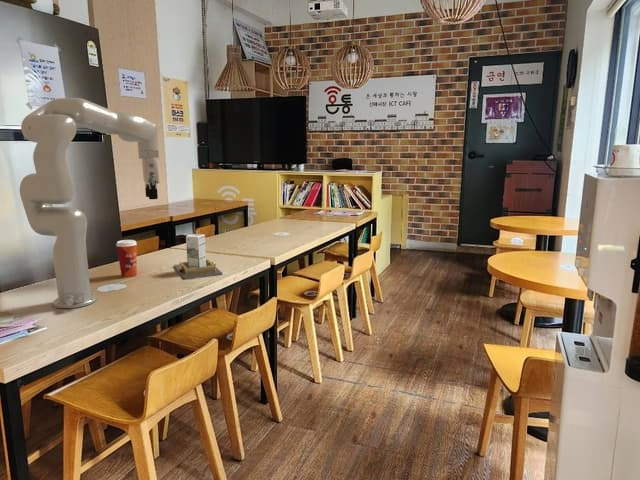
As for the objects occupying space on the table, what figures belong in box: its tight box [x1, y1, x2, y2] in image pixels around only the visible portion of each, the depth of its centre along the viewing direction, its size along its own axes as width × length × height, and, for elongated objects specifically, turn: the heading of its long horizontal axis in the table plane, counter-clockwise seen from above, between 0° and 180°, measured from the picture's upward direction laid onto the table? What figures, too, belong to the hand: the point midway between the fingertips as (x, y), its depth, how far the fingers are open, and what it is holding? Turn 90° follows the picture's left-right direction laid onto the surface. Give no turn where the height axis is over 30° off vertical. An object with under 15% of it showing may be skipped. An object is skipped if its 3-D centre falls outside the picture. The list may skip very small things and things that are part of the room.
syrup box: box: [185, 233, 207, 268], centre depth 188 cm, size 6×6×14 cm
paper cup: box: [115, 239, 138, 278], centre depth 181 cm, size 8×8×14 cm
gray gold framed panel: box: [173, 259, 223, 280], centre depth 190 cm, size 22×15×3 cm
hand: (151, 198), depth 184 cm, fingers open, 9 cm apart
